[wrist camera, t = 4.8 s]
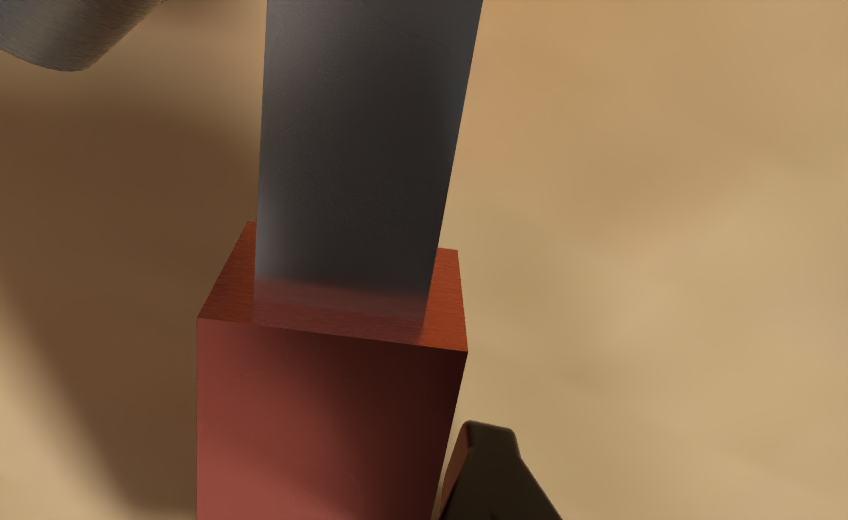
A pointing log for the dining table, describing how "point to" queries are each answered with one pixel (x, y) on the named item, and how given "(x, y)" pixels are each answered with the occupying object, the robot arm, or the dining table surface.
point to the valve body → (67, 29)
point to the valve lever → (341, 273)
